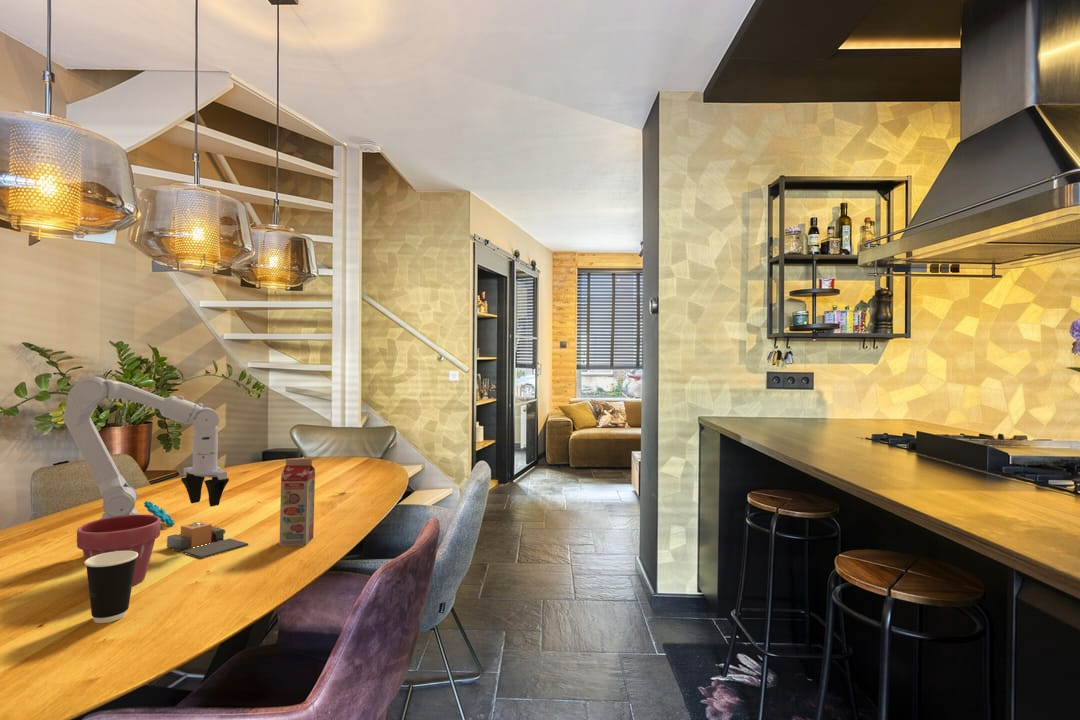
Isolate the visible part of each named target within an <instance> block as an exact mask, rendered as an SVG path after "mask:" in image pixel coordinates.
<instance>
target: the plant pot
mask: <svg viewBox="0 0 1080 720" xmlns="http://www.w3.org/2000/svg"><path fill="white" fill-rule="evenodd" d="M99 519H100V520H99ZM99 519H96V520H93V522H92V521H90V522H87V523H85V524H82V525H81V526H79V527H78V528H77V530H76V547H77V549H79V550H82V553H83V557H84V562H85V561H86V560H87V559H88V558H90V557H93V556H96V555H99V554H103V553H108V552H115V551H134V552H137V553H138V557H137V558H136V563H135V569H134V576H133V582H132V586H134V585H137V584H139V583H142V582H143V581H144V580H145V578H146V575H147V571H148V568H149V567H148V566H149V564H150V561H151V557H152V553H153V549H154V546H155V541H156V539H158V538H159V537H160V535H161V521H160V518H159V517H158V516H154V515H153V514H138V515H125V516H116V517H110V518H105V519H101V518H99Z"/></svg>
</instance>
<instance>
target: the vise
mask: <svg viewBox="0 0 1080 720" xmlns="http://www.w3.org/2000/svg"><path fill="white" fill-rule="evenodd" d="M200 524H201V523H200V521H197V522H192V527H197V526H200ZM225 533H226V529H224V528H220V527H216V526H212V531H211V542H212V541H213V542H212V543H214V542H218V541H221V540H225V539H224V536H225ZM167 547H168V548H170V549H169V550H172V549H174V550H173V551H175V550H177V551H176V552H178V551H180V552H179V553H182V552H181V551H184V550H188V549H190V548H189V538H187V537H184V536H181V534H176V533H175V534H171V535H167V537H166V548H167ZM168 548H167V549H168Z"/></svg>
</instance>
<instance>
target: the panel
mask: <svg viewBox="0 0 1080 720" xmlns="http://www.w3.org/2000/svg"><path fill="white" fill-rule="evenodd" d="M247 546H249V543H248V542H245V541H240V540H237V539H234V538H226V539H224V540H221V541H218V542H211V543H210V544H207V545H203V546H199V547H195V548H192V549H191V548H189V549H188V550H184V551H183V552H182V554H185V553H187V554H186V555H188V554H190V555H189V556H191V555H193V556H192V557H194V556H196V557H195V558H198V557H199V558H198V559H201V558H202V559H205V558H204V557H206V558H209V557H212V556H211V555H213V556H215V554H216V555H220V554H223V553H227V552H229V551H233V550H236V549H240V548H243V547H247ZM226 551H227V552H226ZM219 553H220V554H219ZM208 556H209V557H208Z"/></svg>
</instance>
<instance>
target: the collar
mask: <svg viewBox="0 0 1080 720" xmlns="http://www.w3.org/2000/svg"><path fill="white" fill-rule="evenodd" d="M199 522H200V523H201V524H200V526H197V527H192V523H193V522H192V523H188V524H183V525H181V526H180V536H184V537H187V538H189V547H190V548H189V549H191V548H193V547H197V546H201V545H205V544H209V543H212V541H211V531H212V523H209V522H208V523H207V522H204V521H199Z"/></svg>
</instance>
